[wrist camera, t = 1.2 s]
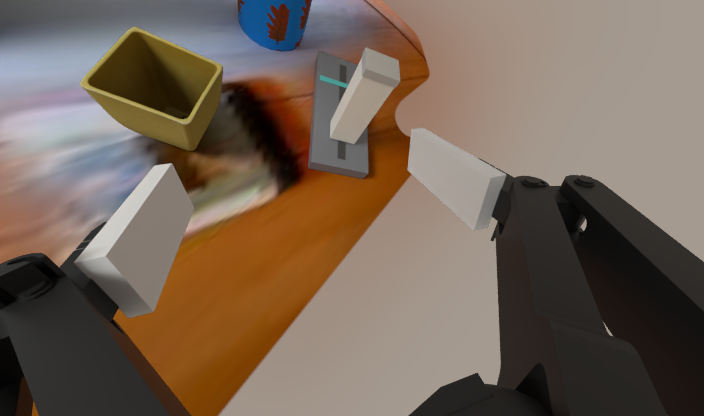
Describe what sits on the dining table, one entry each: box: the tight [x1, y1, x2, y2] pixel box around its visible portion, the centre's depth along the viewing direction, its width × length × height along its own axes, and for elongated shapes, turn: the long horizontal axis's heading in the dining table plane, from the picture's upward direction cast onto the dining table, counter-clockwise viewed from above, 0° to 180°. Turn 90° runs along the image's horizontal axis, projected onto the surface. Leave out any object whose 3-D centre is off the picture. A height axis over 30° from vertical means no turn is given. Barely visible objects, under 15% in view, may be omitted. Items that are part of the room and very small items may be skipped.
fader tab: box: [330, 47, 400, 144], centre depth 33 cm, size 3×4×13 cm
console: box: [308, 51, 368, 179], centre depth 42 cm, size 22×9×2 cm, turn 179°
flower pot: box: [80, 27, 223, 151], centre depth 28 cm, size 9×9×9 cm
